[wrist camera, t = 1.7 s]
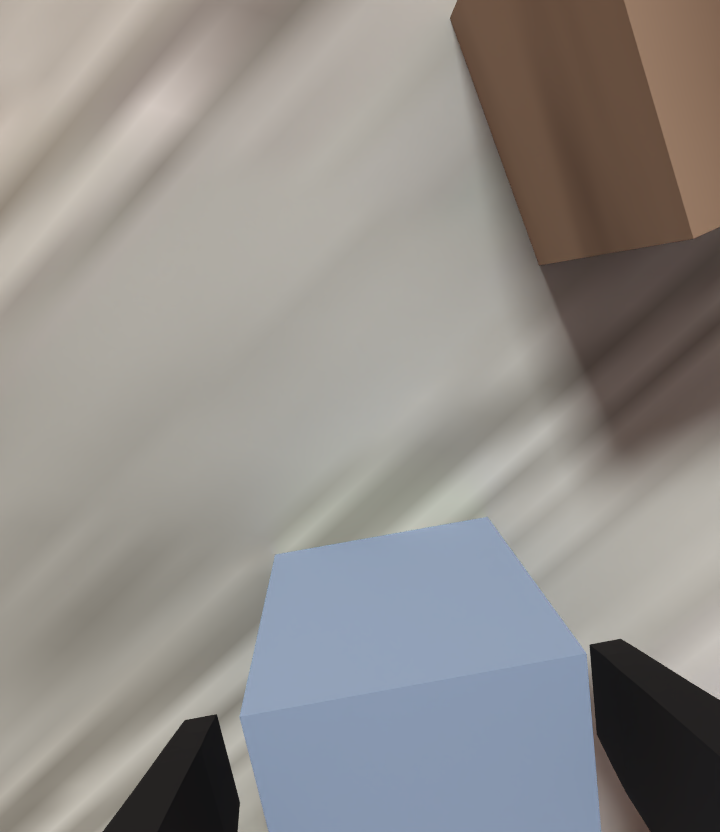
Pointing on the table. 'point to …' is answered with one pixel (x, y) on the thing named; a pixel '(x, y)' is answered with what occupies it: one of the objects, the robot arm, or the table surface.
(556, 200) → the walnut cube
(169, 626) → the table surface
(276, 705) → the slate blue cube
